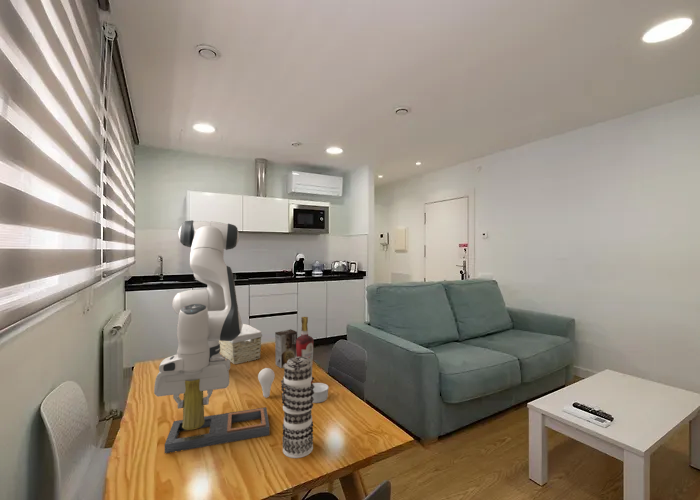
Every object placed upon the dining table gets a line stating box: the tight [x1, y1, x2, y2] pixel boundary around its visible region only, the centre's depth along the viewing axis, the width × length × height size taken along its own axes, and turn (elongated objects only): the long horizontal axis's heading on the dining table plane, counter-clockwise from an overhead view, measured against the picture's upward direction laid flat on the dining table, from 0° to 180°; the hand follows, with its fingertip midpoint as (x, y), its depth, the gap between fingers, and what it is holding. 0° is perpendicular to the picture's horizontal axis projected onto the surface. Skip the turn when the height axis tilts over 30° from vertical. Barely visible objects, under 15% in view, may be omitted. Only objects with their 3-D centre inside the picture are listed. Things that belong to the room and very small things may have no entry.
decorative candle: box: [280, 357, 315, 459], centre depth 91 cm, size 9×9×25 cm
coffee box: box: [274, 328, 298, 369], centre depth 159 cm, size 9×6×16 cm
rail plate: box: [164, 406, 270, 454], centre depth 100 cm, size 13×28×3 cm, turn 109°
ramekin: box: [312, 382, 330, 404], centre depth 122 cm, size 9×9×4 cm
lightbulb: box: [257, 367, 276, 399], centre depth 123 cm, size 6×6×11 cm
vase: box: [182, 379, 205, 431], centre depth 97 cm, size 6×6×14 cm
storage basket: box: [219, 323, 263, 365], centre depth 172 cm, size 24×16×15 cm
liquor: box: [296, 316, 314, 383], centre depth 135 cm, size 7×7×28 cm
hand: (193, 405), depth 97 cm, fingers closed on vase, 5 cm apart
